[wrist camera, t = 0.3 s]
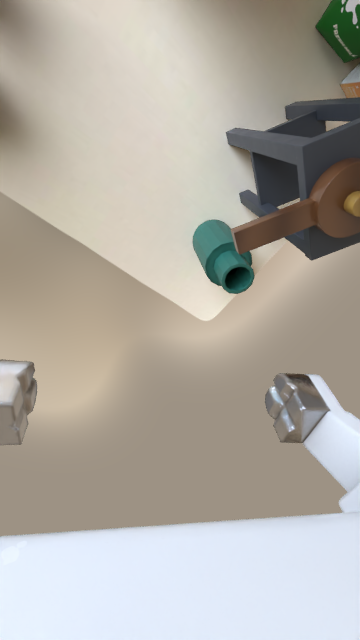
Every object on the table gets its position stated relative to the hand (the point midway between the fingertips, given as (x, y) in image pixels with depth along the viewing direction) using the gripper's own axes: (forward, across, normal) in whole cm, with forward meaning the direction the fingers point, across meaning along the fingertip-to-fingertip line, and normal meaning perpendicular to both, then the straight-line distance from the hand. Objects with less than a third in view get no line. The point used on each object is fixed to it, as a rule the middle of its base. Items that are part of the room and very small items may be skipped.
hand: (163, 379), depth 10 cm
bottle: (+47, -15, +12) cm, 51 cm away
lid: (+22, -16, -2) cm, 27 cm away
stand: (+48, -21, -4) cm, 53 cm away
